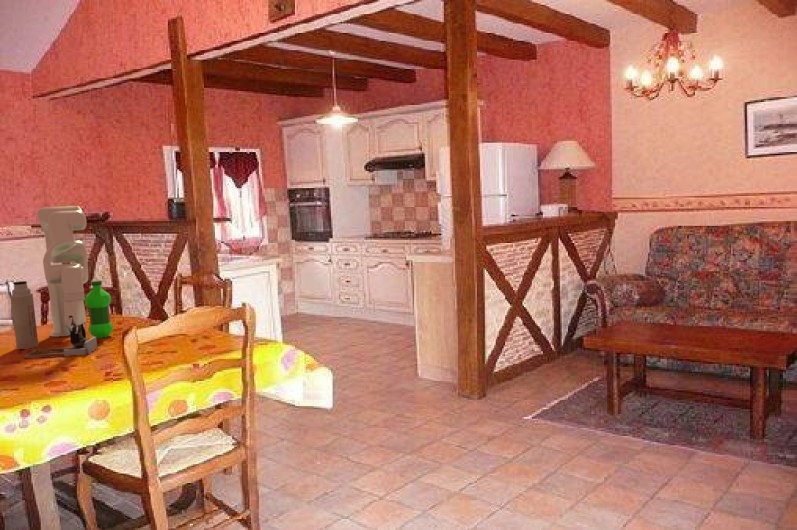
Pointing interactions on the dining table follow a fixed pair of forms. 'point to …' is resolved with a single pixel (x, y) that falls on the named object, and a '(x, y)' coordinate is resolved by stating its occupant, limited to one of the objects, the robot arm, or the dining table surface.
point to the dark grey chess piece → (82, 340)
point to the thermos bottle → (24, 316)
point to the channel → (31, 354)
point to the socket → (89, 347)
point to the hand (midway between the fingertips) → (78, 340)
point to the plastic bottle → (99, 310)
